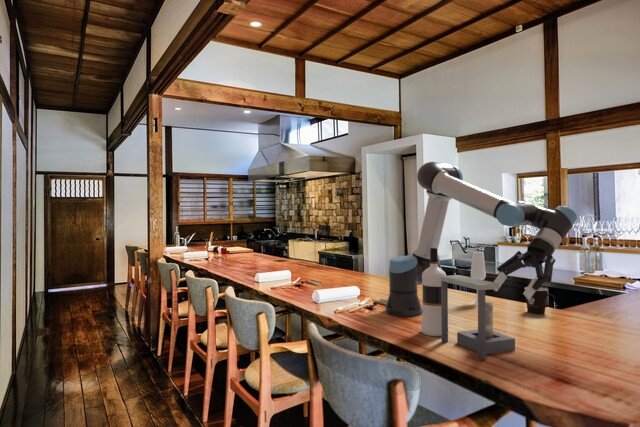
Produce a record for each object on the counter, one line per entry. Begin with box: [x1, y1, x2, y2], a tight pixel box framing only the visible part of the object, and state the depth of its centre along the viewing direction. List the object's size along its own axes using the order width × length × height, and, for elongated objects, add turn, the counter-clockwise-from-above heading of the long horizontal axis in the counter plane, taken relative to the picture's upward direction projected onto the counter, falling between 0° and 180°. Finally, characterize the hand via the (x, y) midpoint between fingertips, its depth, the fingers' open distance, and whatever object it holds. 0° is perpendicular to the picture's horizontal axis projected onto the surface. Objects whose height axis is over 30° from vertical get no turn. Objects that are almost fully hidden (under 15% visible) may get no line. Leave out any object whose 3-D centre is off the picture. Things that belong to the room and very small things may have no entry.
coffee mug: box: [524, 286, 556, 315], centre depth 171 cm, size 12×9×10 cm
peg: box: [485, 300, 494, 339], centre depth 130 cm, size 4×4×14 cm
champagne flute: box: [470, 251, 487, 306], centre depth 191 cm, size 7×7×24 cm
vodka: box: [420, 248, 447, 338], centre depth 144 cm, size 9×9×30 cm
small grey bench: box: [441, 274, 500, 361], centre depth 128 cm, size 7×19×22 cm, turn 20°
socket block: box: [456, 329, 516, 355], centre depth 130 cm, size 12×12×4 cm
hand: (509, 292), depth 133 cm, fingers open, 13 cm apart
